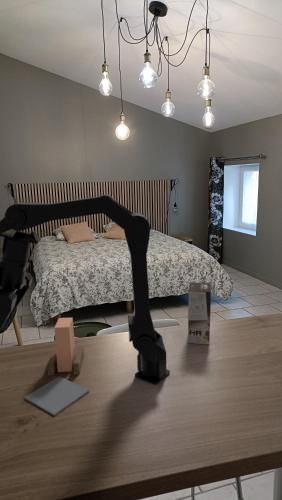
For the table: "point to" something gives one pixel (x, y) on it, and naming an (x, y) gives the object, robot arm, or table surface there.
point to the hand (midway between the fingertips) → (3, 322)
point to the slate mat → (56, 395)
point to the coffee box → (199, 313)
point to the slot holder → (77, 363)
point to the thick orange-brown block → (64, 344)
